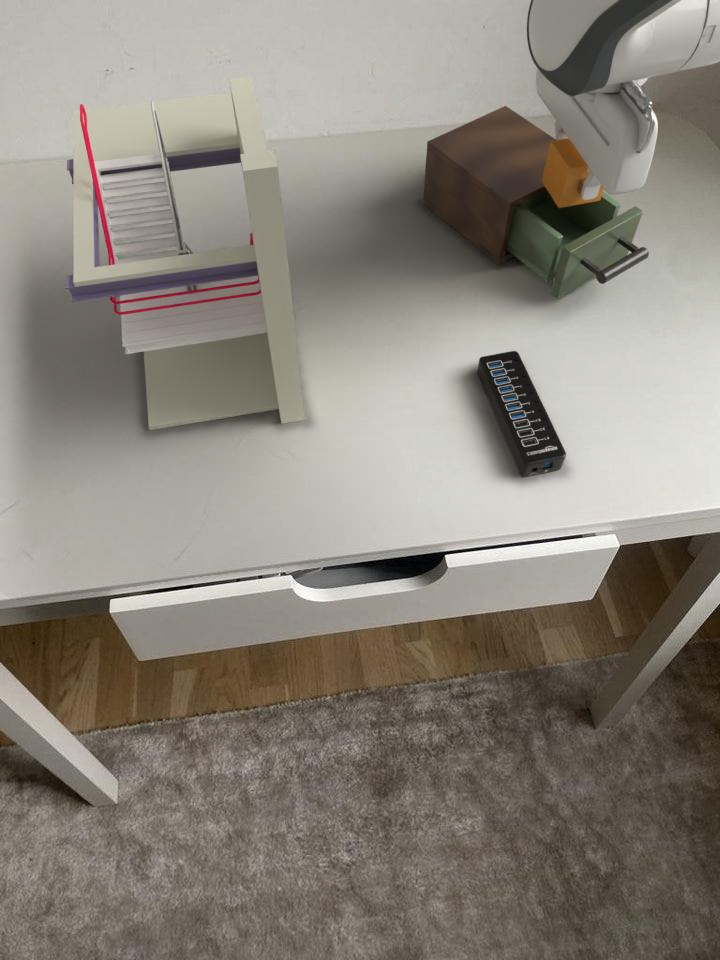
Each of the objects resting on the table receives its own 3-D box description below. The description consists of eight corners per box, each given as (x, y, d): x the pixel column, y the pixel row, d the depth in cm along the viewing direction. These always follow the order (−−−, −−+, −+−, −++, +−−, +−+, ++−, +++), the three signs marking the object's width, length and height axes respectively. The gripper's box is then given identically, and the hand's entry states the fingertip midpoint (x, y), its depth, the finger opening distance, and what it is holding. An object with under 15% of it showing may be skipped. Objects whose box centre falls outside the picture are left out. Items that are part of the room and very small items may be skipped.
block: (581, 174, 87) (593, 133, 83) (600, 200, 85) (612, 160, 81) (541, 181, 87) (550, 140, 83) (558, 208, 84) (568, 168, 80)
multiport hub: (513, 363, 84) (517, 349, 82) (562, 469, 77) (568, 456, 75) (475, 371, 84) (478, 356, 82) (521, 477, 76) (525, 465, 74)
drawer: (650, 277, 90) (670, 229, 85) (581, 319, 87) (596, 272, 81) (547, 201, 98) (558, 153, 92) (479, 237, 94) (486, 189, 89)
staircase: (121, 269, 93) (30, 7, 68) (269, 248, 95) (234, -14, 70) (129, 448, 78) (18, 199, 53) (304, 419, 80) (277, 166, 55)
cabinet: (573, 223, 97) (590, 162, 90) (498, 264, 93) (510, 203, 86) (495, 167, 104) (505, 105, 96) (422, 203, 100) (427, 141, 92)
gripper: (690, 105, 68) (642, 232, 79) (594, -3, 79) (564, 122, 90) (625, 116, 67) (586, 243, 79) (537, 5, 78) (514, 130, 89)
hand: (574, 178), depth 84 cm, fingers closed on block, 5 cm apart
